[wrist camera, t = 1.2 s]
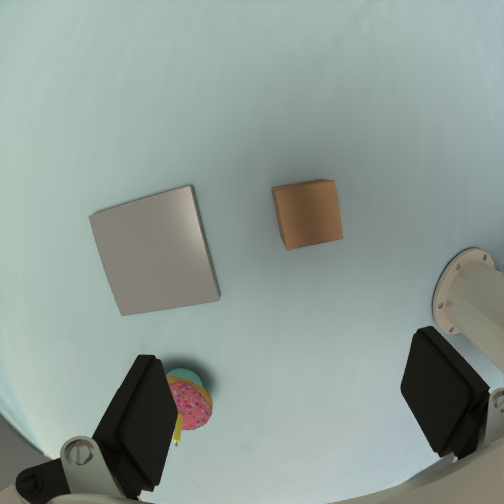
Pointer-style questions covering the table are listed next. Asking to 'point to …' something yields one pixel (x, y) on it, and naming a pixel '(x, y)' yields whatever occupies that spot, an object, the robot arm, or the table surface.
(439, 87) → the table surface
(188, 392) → the cupcake
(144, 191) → the table surface
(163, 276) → the slate coaster
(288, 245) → the walnut cube
